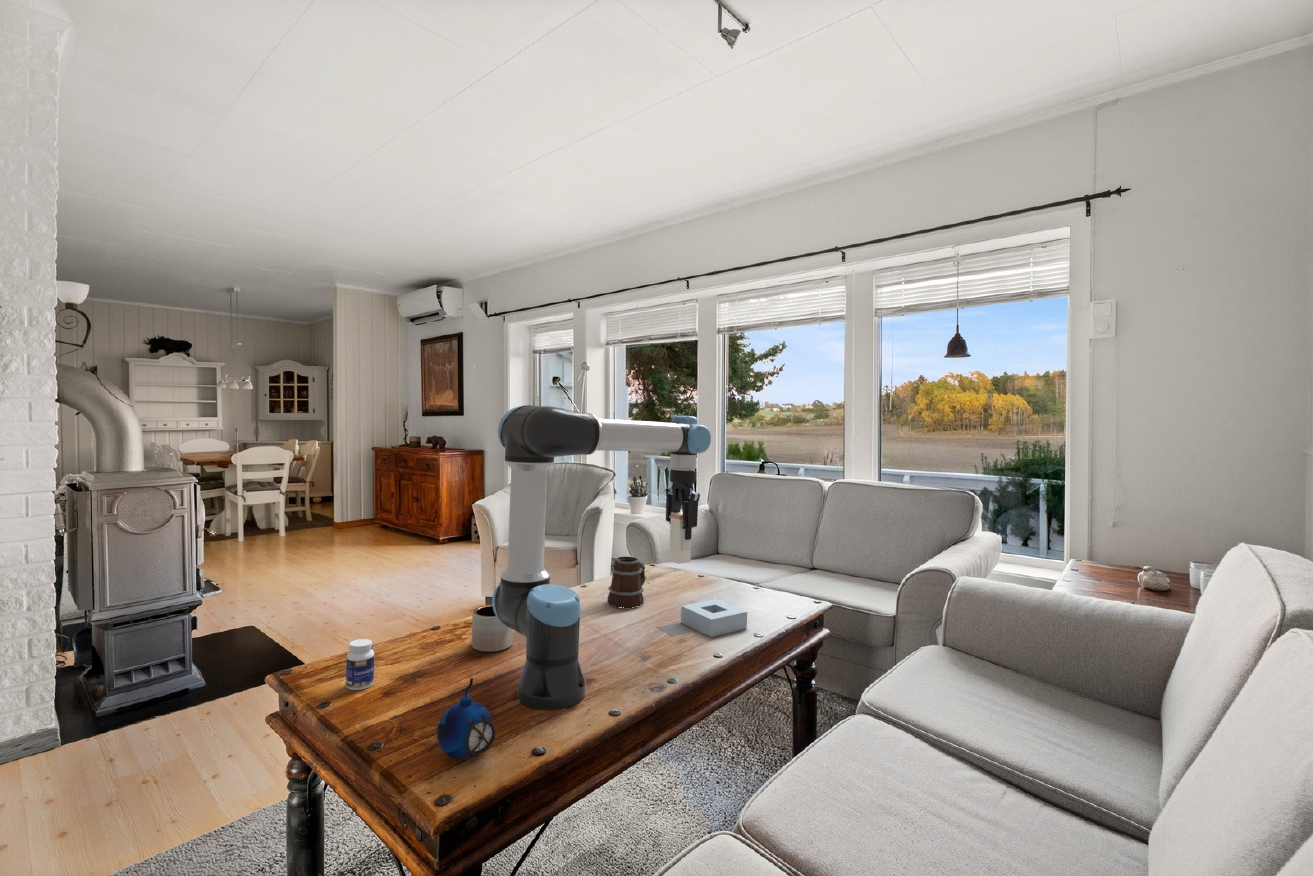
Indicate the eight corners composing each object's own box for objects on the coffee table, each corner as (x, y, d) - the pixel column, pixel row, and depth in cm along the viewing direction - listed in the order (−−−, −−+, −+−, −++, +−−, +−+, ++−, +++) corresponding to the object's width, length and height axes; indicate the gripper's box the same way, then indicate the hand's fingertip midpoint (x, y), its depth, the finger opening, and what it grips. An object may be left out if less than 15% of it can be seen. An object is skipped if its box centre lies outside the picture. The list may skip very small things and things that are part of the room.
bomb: (457, 781, 106) (459, 695, 105) (426, 755, 113) (427, 675, 113) (506, 758, 113) (508, 678, 113) (473, 736, 121) (475, 660, 120)
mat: (672, 639, 175) (672, 636, 175) (656, 630, 182) (656, 627, 182) (694, 634, 180) (694, 631, 180) (677, 626, 187) (678, 622, 187)
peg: (678, 563, 177) (680, 515, 177) (669, 560, 181) (670, 512, 180) (690, 561, 180) (692, 514, 179) (681, 558, 183) (682, 511, 183)
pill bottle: (355, 693, 136) (356, 649, 136) (340, 686, 139) (341, 643, 139) (379, 684, 141) (379, 641, 141) (364, 677, 144) (364, 635, 144)
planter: (521, 646, 167) (521, 611, 166) (485, 657, 159) (486, 620, 158) (498, 635, 174) (499, 601, 174) (463, 644, 166) (464, 609, 166)
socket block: (710, 640, 176) (711, 619, 176) (680, 625, 187) (681, 605, 187) (746, 631, 184) (747, 611, 184) (715, 617, 195) (716, 599, 195)
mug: (629, 611, 199) (630, 565, 198) (600, 603, 206) (601, 558, 205) (657, 600, 211) (658, 556, 211) (629, 593, 218) (631, 551, 218)
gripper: (712, 471, 174) (709, 553, 175) (675, 465, 188) (672, 541, 189) (691, 472, 170) (688, 556, 171) (655, 466, 184) (652, 544, 185)
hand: (680, 548), depth 180 cm, fingers closed on peg, 4 cm apart
